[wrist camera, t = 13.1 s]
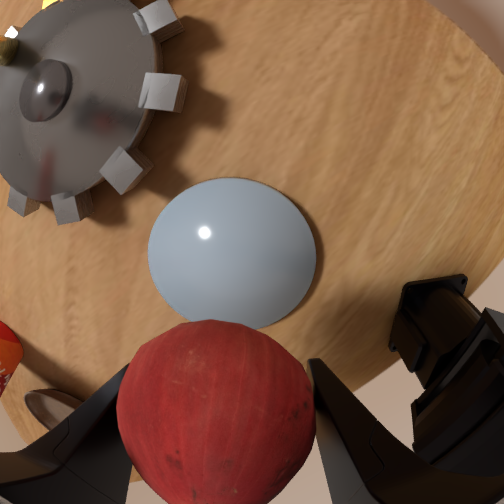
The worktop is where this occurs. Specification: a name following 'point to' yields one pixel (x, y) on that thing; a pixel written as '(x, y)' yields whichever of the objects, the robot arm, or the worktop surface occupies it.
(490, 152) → the worktop surface
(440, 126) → the worktop surface
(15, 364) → the paper cup
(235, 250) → the coaster
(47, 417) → the saucer
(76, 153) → the sprocket
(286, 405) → the onion
